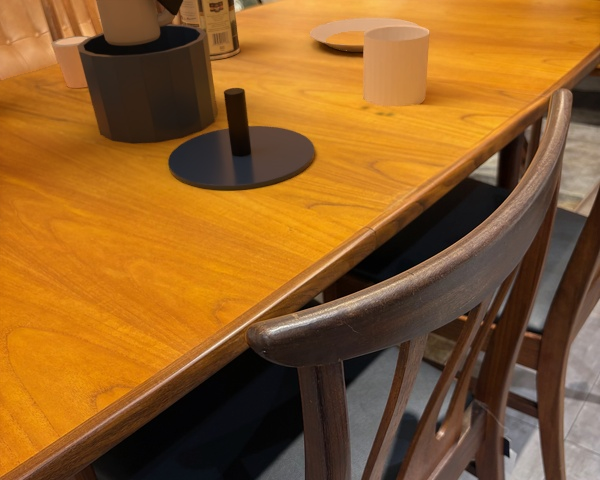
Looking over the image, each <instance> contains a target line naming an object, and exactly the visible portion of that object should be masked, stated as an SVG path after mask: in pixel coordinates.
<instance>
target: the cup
mask: <svg viewBox="0 0 600 480" xmlns="http://www.w3.org/2000/svg"><path fill="white" fill-rule="evenodd" d="M95 3H96V6H97V10H98V15H99V19H100V23H101V28H102V33H104V37H105V40H106V41H107V42H108V43H109V44H112V45H119V46H126V45H138V44H144V43H148V42H151V41H154V40H156V39H158V38H159V36H160V27H163V26H166V25H168V24H172V22H173V21H174V19H175V18H176V16H175V15H172V14H171V13H170V12H169V11H168V10H167V9H166V8H164V7H163V8H164V9H163V11H161V12H158V9H157V3H156V0H95Z"/></svg>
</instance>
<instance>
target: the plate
mask: <svg viewBox="0 0 600 480" xmlns="http://www.w3.org/2000/svg"><path fill="white" fill-rule="evenodd" d="M386 25H414V26H420V25H419V24H417V23H415V22H414V21H413V22H412V21H409V20H405V19H400V18H392V17H356V18H346V19H340V20H334V21H330V22H325V23H322V24H320V25H317V26H315V27H314V28H312V29H311V30H310V32H309V36H310V38H312V39H313V40H314V41H317V42H319V43H322V44H324V45H326V46H328V47H330V48H332V47H333V48H332V49H334V50H338V51H343V52H350V53H351V52H352V53H363V50H364V45H345V44H334V43H328V42H326V39H327V38H328V37H330V36H332V35H334V34H338V33H341V32H348V31H366V30H368V29H371V28H374V27H379V26H386ZM339 49H340V50H339ZM345 50H347V51H345Z"/></svg>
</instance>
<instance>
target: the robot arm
mask: <svg viewBox="0 0 600 480" xmlns="http://www.w3.org/2000/svg"><path fill="white" fill-rule="evenodd" d="M156 1H157V2H158V3H159V4H160V5H161V6H162V7H163V8H166V9H167V10H168V11H169V12H170V13H171V14H172V15H175V17H176V16H178V14H179V12H180V7H181V5H182V3H183V0H156Z"/></svg>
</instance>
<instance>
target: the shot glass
mask: <svg viewBox="0 0 600 480" xmlns="http://www.w3.org/2000/svg"><path fill="white" fill-rule="evenodd" d="M90 37H91V36H89V35H75V36H67V37H63V38H60V39H56V40H54V41H52V42H51V44H50V45H51V47H52V49H53V52H54V55H55V57H56V60H57V63H58V66H59V68H60V71H61V73H62V76H63V79H64V82H65V84H66V87H67V88H70V89H84V88H88V86H87V82H86V78H85V74H84V71H83V67H82V63H81V59H80V55H79V51H78V47H77V46H78V45H79V44H80V43H82V42H83V41H84V40H85V39H88V38H90Z"/></svg>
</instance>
